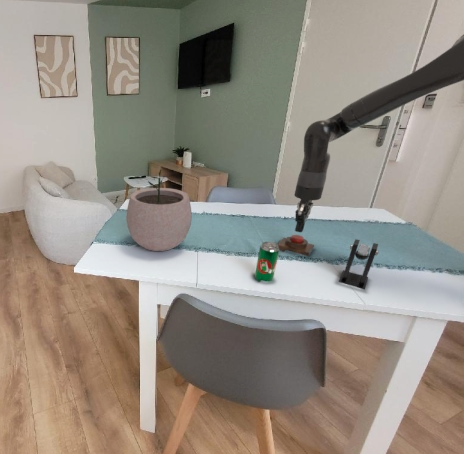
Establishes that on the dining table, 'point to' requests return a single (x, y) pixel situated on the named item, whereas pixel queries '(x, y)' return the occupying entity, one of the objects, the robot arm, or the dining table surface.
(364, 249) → the press lever
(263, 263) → the soda can
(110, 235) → the dining table surface
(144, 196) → the plant pot
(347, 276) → the lever bracket
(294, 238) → the button
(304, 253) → the button housing
